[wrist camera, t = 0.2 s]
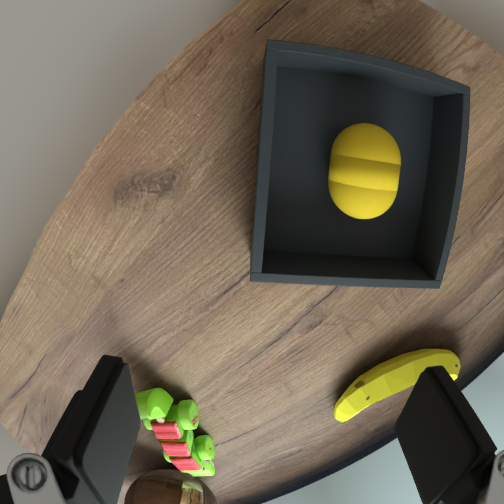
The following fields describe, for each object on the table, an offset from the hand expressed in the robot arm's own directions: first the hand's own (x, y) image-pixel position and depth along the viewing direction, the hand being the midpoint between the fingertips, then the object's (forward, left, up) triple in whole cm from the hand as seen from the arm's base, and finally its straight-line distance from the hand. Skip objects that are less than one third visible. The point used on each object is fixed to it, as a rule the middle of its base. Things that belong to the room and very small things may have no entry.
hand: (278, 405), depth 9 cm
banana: (+20, +20, -21) cm, 35 cm away
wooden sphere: (+44, -11, -21) cm, 49 cm away
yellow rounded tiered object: (-6, +8, -20) cm, 22 cm away
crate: (-6, +8, -21) cm, 23 cm away
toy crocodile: (+28, -8, -21) cm, 36 cm away
